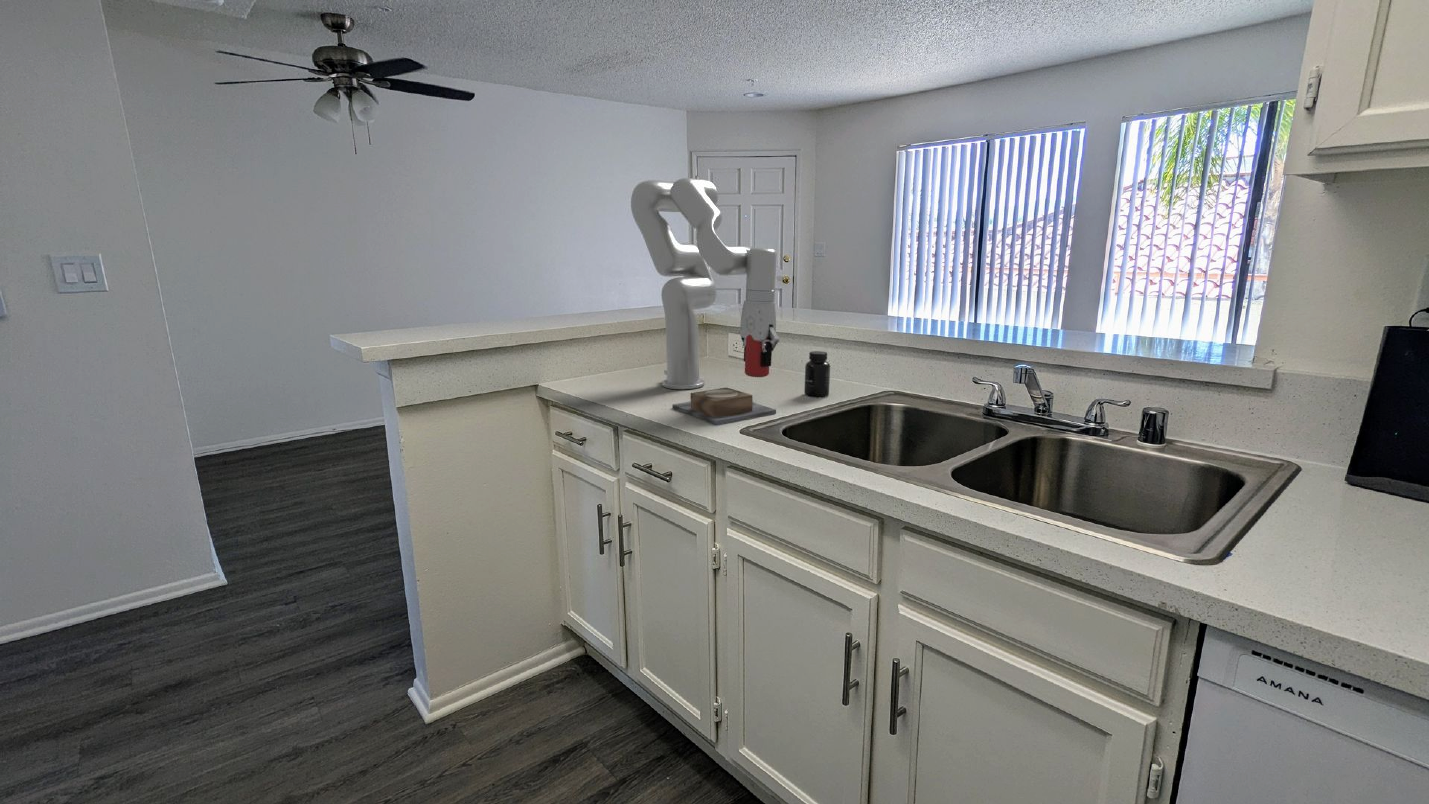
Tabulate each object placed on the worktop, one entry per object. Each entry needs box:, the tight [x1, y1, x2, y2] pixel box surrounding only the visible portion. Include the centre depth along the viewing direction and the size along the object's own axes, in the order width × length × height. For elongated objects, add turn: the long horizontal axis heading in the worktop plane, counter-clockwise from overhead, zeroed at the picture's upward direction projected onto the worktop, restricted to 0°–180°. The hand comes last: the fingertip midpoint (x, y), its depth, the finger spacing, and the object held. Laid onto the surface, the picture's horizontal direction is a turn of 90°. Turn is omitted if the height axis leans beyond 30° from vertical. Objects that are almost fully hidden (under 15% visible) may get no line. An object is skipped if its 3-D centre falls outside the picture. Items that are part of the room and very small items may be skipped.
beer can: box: [744, 335, 770, 378], centre depth 179 cm, size 7×7×12 cm
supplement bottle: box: [803, 350, 831, 399], centre depth 184 cm, size 7×7×12 cm
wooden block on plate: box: [671, 386, 777, 426], centre depth 169 cm, size 20×18×5 cm
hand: (757, 363), depth 179 cm, fingers closed on beer can, 6 cm apart
